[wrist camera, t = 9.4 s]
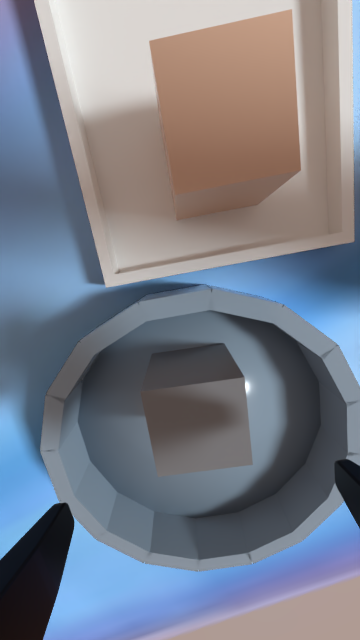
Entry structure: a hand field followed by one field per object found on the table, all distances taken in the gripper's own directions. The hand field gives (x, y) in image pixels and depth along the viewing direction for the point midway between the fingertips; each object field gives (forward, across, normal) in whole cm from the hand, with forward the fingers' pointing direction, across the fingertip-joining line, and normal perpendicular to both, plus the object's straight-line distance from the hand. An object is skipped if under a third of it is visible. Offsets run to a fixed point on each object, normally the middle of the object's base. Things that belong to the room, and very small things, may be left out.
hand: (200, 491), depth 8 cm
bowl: (+8, 0, +3) cm, 8 cm away
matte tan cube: (+7, -3, -12) cm, 14 cm away
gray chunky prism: (+7, 0, 0) cm, 7 cm away
